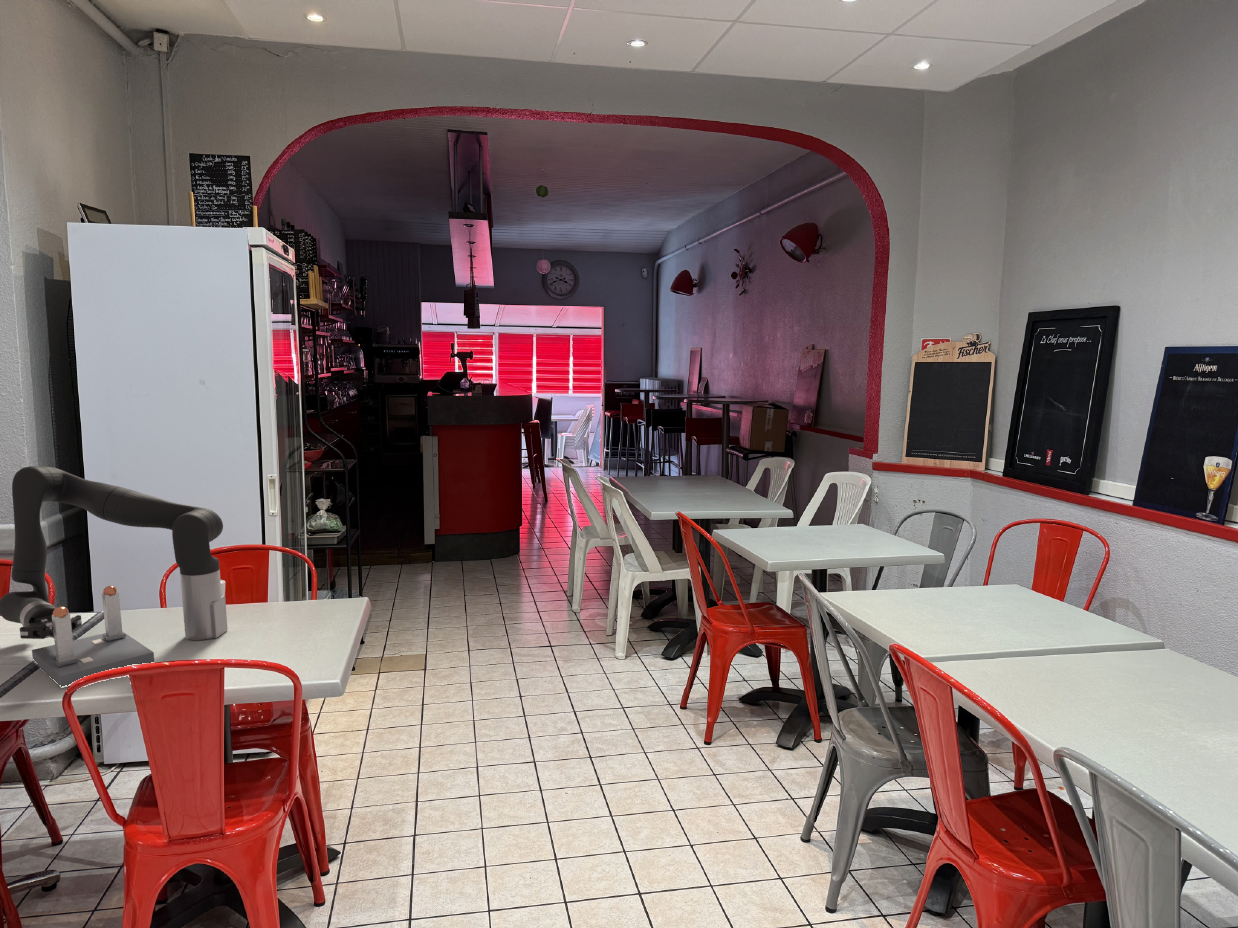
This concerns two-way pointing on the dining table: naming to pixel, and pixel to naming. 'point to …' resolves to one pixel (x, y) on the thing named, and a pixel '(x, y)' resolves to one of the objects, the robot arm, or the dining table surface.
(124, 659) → the switch box
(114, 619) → the lever inner
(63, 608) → the lever edge
